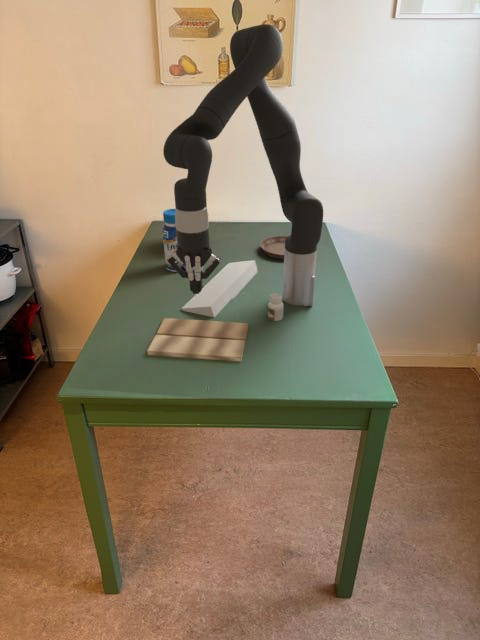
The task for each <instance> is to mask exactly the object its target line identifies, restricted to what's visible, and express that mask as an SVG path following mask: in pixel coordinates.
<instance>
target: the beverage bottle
mask: <svg viewBox="0 0 480 640" xmlns="http://www.w3.org/2000/svg"><path fill="white" fill-rule="evenodd" d="M175 211H176V209H175V208H169V209H165V210H164V211H163V213H162V216H163V217H162V218H163V222H164V225H163V228H162V235H163V236H162V242H163V251H164V252H163V254H164V261H165V263H164V265H165V268H166V270H167V271H169V272H174V273H178V272H177V271H176V270H175V269H174V268H173V267H172V266H171V264H170V263H169V262H168V259H169V257H170V256H171V255H174V254H175V253H176V250H177V235H176V226H175ZM180 262H181V263H182V264H183V266H184V267H185V268H186V265H184V263H183V262H182V261H181V260H180ZM186 269H187V268H186Z"/></svg>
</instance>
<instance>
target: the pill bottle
mask: <svg viewBox="0 0 480 640" xmlns="http://www.w3.org/2000/svg"><path fill="white" fill-rule="evenodd" d="M282 298H283V294H281V293H277V292H275V293H271V294H270V295H269V301H268V303H267V318H268V319H269V320H270V321H275V322H277V321H280V320H282V319H283V318H284V303H283V300H282Z"/></svg>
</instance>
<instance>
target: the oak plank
mask: <svg viewBox="0 0 480 640" xmlns="http://www.w3.org/2000/svg"><path fill="white" fill-rule="evenodd" d="M245 344H246V341H243V340H228V339H213V338H198V337H183V336H168V335H157V334H155V336H154V337H153V339H152V341H151V343H150V344H149V346H148V348H147V355H148V356H159V357H170V358H171V357H172V358H184V359H185V358H186V359H187V358H189V359H200V360H201V359H202V360H214V361H215V360H216V361H229V362H242V359H243V354H244V349H245Z"/></svg>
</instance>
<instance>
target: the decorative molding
mask: <svg viewBox="0 0 480 640" xmlns="http://www.w3.org/2000/svg"><path fill="white" fill-rule="evenodd" d="M258 271H259V270H258V266H257V263H256V260H255V259H254V260H253V259H252V260H243V261H234V262H229V263H227V264H226V265H225V266H224V267H223V268H222V269H220V271H219V272H218V273H217V274H216V275H214V277H212V279H211V280H209V281H208V282H207V283H206V284H205V285H204V287H203V286H202V287H203V288H202V290H201V292H199V294H194V296H193V297H192V298H191V299H190V300H189V301H188V302H186V303H185V304H184V305H183V306H182V307H181V310H182V311H183V312H188V313H190V314H191V313H193V314H197V315H200V316H206V317H210V318H215V317H217V315H218V314H219V313H220V312H221V311H222V309H224V307H226V305H227V304H228V303H229V302H230V301H231V300H234V299H235V298H236V297H237V296H238V295H239V294H240V293H241V292H242V290H243V289H245V287H246V286H247V285H248V284H249V282H251V281H252V279H254V277H255V276H256V275H257V274H258Z"/></svg>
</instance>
